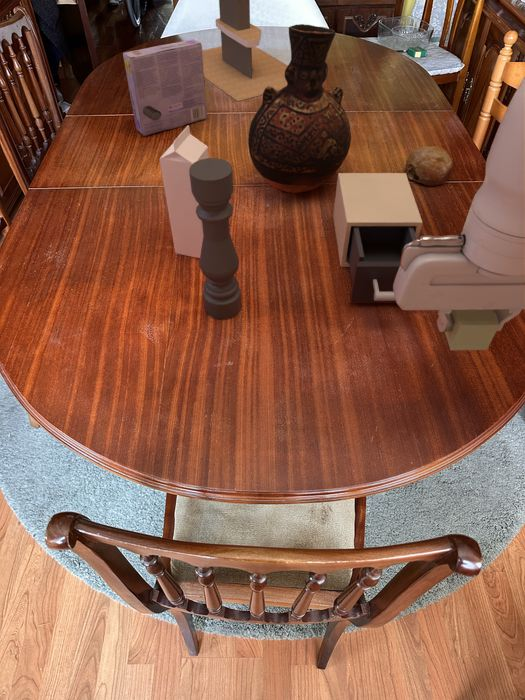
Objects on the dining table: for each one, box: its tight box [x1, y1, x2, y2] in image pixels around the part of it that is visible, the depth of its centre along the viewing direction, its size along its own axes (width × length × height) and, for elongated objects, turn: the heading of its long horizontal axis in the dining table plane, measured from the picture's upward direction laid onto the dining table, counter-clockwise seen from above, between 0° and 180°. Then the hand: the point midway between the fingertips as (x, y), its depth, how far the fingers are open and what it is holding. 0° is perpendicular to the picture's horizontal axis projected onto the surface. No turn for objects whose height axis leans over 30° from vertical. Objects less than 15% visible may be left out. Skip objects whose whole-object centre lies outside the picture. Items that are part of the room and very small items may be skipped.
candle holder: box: [189, 157, 242, 320], centre depth 76 cm, size 6×6×25 cm
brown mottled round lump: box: [405, 145, 454, 187], centre depth 110 cm, size 10×10×8 cm
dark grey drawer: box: [347, 226, 417, 304], centre depth 85 cm, size 19×11×8 cm, turn 0°
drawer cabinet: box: [332, 172, 423, 268], centre depth 93 cm, size 16×13×10 cm
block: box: [444, 309, 499, 351], centre depth 62 cm, size 4×4×4 cm
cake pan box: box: [122, 38, 208, 137], centre depth 122 cm, size 19×5×18 cm, turn 123°
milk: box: [159, 125, 210, 259], centre depth 87 cm, size 6×6×22 cm
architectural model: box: [202, 0, 289, 102], centre depth 144 cm, size 38×25×20 cm, turn 32°
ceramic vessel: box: [247, 23, 352, 194], centre depth 99 cm, size 21×18×30 cm
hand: (468, 327), depth 62 cm, fingers closed on block, 4 cm apart
